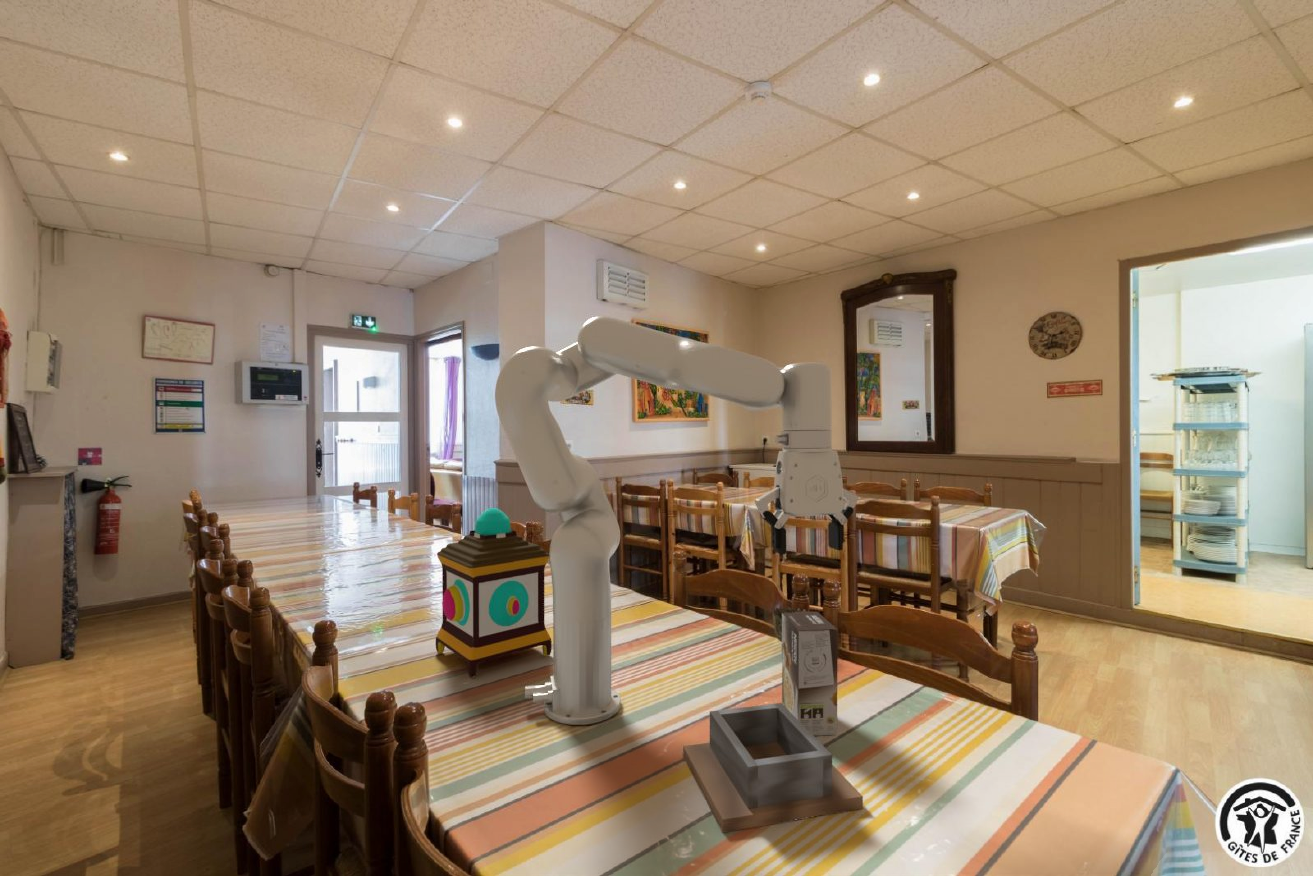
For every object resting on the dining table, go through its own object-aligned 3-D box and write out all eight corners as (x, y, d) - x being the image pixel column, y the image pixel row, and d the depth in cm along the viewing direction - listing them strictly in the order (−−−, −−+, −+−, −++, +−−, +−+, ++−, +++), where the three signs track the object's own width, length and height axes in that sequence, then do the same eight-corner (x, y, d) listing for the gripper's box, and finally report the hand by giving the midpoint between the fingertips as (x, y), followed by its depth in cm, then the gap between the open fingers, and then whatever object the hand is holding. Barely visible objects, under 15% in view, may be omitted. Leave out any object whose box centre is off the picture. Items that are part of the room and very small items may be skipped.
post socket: (722, 832, 67) (722, 776, 67) (683, 756, 83) (683, 710, 83) (862, 808, 72) (863, 755, 71) (800, 740, 87) (800, 697, 87)
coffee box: (839, 735, 89) (840, 629, 88) (797, 737, 88) (798, 630, 88) (817, 706, 98) (818, 610, 98) (779, 708, 97) (780, 611, 97)
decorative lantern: (466, 684, 106) (465, 518, 105) (425, 653, 121) (425, 507, 120) (561, 656, 119) (561, 508, 119) (514, 631, 134) (514, 499, 134)
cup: (809, 658, 118) (809, 618, 118) (772, 655, 120) (772, 616, 120) (807, 644, 126) (808, 607, 126) (772, 642, 127) (772, 605, 127)
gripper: (766, 443, 87) (767, 559, 87) (869, 441, 91) (870, 552, 91) (746, 442, 94) (747, 549, 94) (842, 440, 98) (843, 543, 99)
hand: (807, 550), depth 93 cm, fingers open, 9 cm apart
